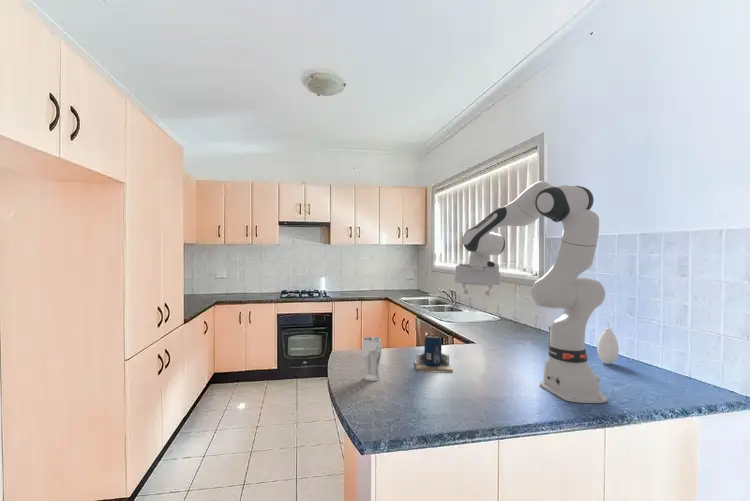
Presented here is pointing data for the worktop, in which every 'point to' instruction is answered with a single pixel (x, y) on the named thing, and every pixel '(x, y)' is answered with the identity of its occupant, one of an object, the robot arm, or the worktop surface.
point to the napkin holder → (443, 367)
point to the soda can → (432, 351)
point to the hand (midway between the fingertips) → (476, 294)
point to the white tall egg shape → (607, 346)
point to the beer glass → (371, 358)
